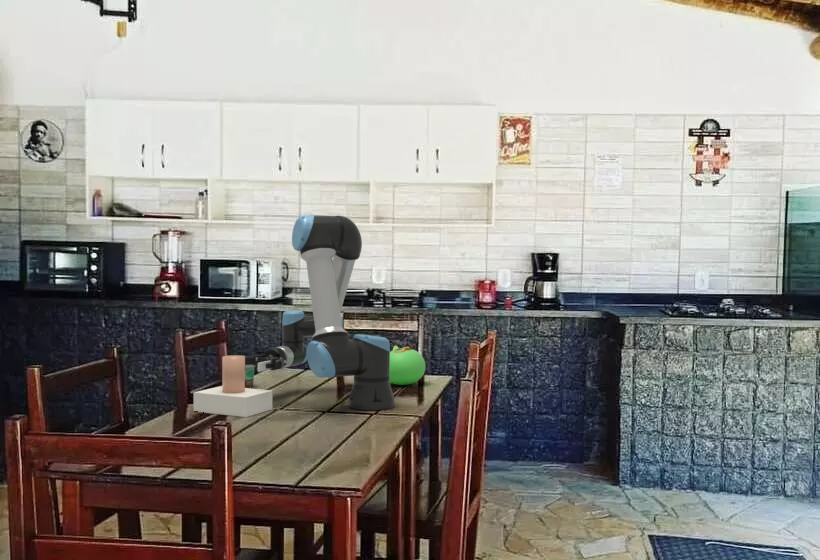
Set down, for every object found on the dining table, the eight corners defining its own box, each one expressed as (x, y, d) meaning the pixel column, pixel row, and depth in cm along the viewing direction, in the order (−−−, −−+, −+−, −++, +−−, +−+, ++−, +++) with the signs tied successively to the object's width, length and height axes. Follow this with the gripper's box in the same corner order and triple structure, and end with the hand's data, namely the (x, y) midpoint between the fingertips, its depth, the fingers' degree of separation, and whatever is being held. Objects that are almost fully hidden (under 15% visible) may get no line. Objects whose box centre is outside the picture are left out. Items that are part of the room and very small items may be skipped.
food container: (248, 390, 299) (248, 363, 298) (232, 390, 300) (232, 362, 299) (261, 385, 311) (261, 358, 310) (246, 384, 312) (246, 358, 312)
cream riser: (272, 409, 264) (272, 390, 264) (246, 417, 251) (245, 397, 251) (221, 404, 273) (221, 385, 272) (193, 411, 260) (193, 392, 260)
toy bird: (409, 389, 302) (409, 349, 301) (370, 385, 310) (370, 346, 310) (433, 383, 317) (433, 345, 317) (395, 379, 326) (395, 342, 325)
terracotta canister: (249, 390, 263) (249, 356, 263) (235, 393, 257) (235, 358, 257) (231, 389, 266) (231, 354, 266) (217, 391, 260) (217, 357, 260)
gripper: (309, 371, 280) (273, 380, 261) (247, 366, 290) (209, 375, 271) (309, 349, 280) (273, 356, 260) (247, 345, 290) (209, 352, 271)
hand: (240, 366), depth 265 cm, fingers open, 13 cm apart
